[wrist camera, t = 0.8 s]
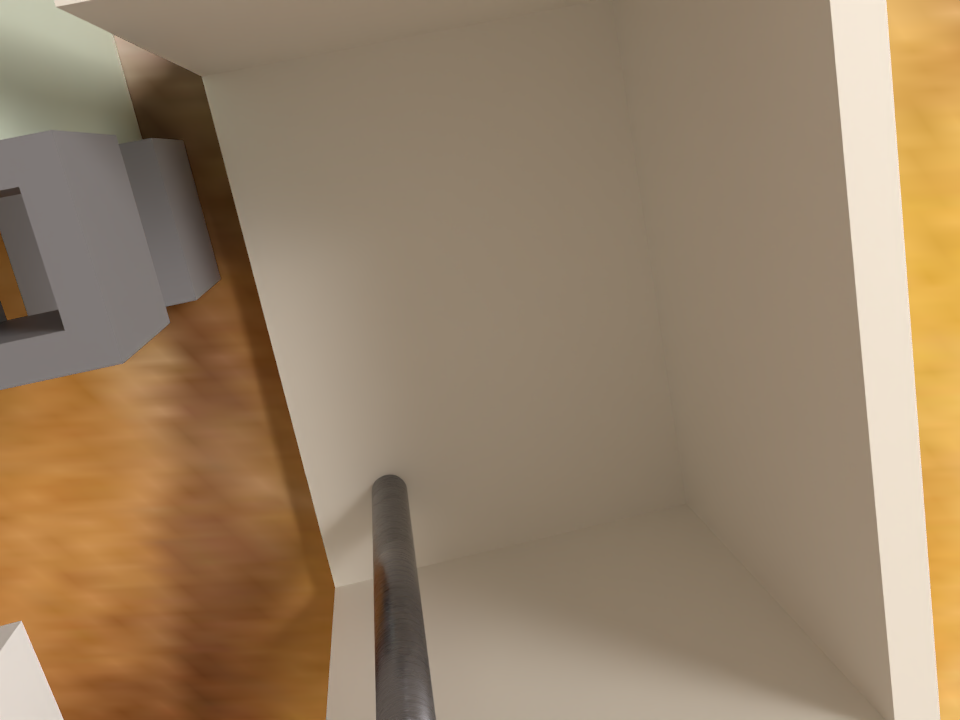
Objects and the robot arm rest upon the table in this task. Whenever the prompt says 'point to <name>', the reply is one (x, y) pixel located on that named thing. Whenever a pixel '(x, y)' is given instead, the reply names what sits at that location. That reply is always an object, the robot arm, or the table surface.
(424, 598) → the carcass
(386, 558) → the hinge pin
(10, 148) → the door
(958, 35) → the table surface
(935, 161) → the table surface
